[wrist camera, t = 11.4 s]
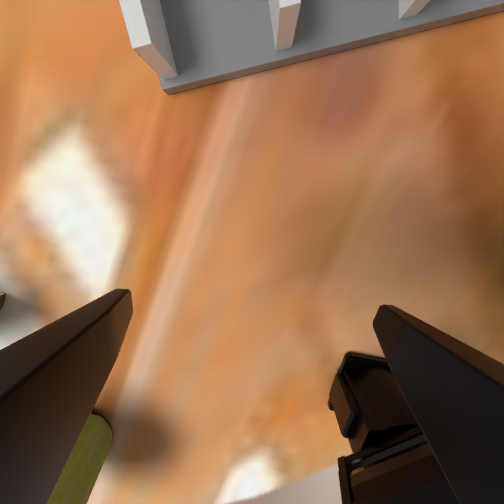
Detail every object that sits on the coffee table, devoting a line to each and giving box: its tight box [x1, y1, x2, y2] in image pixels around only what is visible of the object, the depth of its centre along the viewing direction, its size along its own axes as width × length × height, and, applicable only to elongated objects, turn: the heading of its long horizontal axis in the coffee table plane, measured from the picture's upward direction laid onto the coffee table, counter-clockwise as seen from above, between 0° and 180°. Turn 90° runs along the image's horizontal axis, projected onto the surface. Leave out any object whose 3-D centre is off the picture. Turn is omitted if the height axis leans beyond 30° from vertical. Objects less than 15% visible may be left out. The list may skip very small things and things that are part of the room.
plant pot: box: [47, 413, 112, 504], centre depth 21 cm, size 12×12×11 cm
